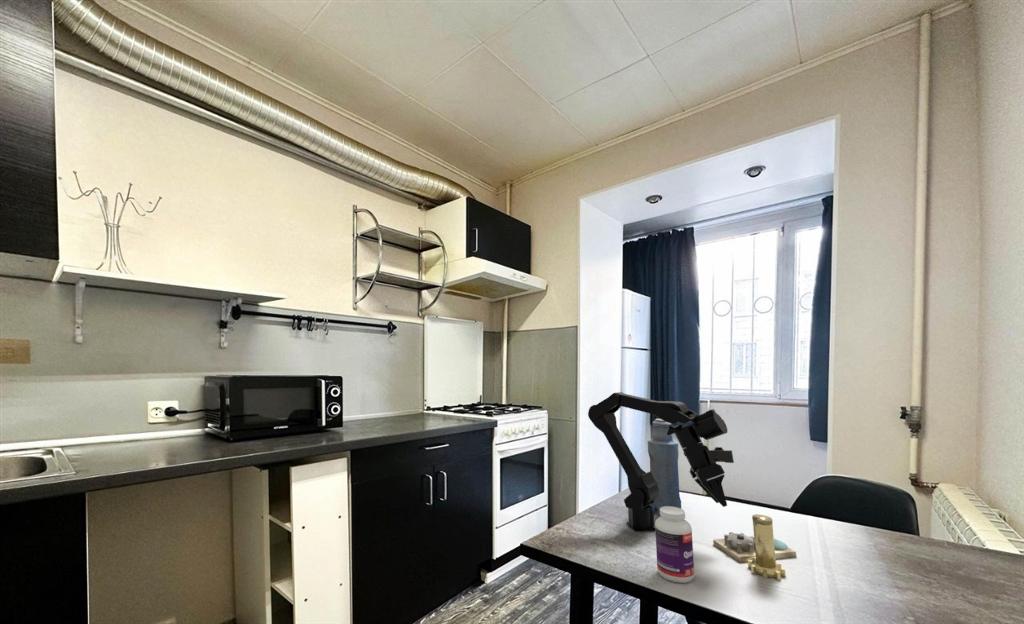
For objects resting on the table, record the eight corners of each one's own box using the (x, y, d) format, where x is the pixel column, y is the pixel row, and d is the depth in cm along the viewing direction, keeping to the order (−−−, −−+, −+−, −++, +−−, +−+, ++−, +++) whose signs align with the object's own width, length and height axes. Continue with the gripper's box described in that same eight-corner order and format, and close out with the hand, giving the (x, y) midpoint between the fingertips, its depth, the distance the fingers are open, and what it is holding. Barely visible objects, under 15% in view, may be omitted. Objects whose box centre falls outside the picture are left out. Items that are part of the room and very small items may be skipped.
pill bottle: (692, 589, 87) (687, 519, 89) (654, 578, 91) (650, 512, 93) (697, 572, 94) (693, 507, 96) (661, 563, 98) (658, 502, 100)
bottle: (647, 506, 137) (642, 417, 141) (677, 507, 136) (671, 417, 140) (654, 517, 128) (649, 421, 132) (686, 518, 127) (680, 421, 131)
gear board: (739, 562, 99) (738, 545, 99) (713, 544, 108) (712, 529, 109) (799, 556, 101) (797, 540, 102) (768, 539, 111) (767, 524, 112)
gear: (764, 581, 90) (760, 524, 92) (741, 565, 97) (737, 512, 99) (793, 578, 91) (788, 522, 93) (768, 562, 98) (763, 511, 100)
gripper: (727, 433, 102) (762, 497, 96) (714, 436, 119) (743, 491, 112) (685, 448, 104) (716, 512, 97) (678, 449, 120) (705, 504, 114)
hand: (721, 504), depth 105 cm, fingers open, 9 cm apart
